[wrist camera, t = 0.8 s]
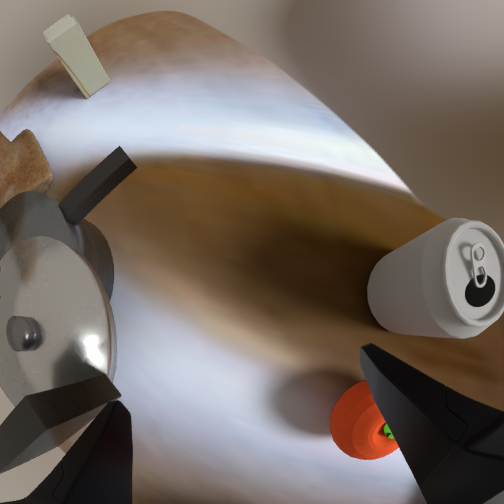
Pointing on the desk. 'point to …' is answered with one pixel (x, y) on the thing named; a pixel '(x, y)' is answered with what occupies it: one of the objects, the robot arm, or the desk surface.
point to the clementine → (361, 425)
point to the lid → (52, 347)
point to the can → (441, 282)
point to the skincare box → (76, 55)
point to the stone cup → (22, 166)
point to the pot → (68, 216)
